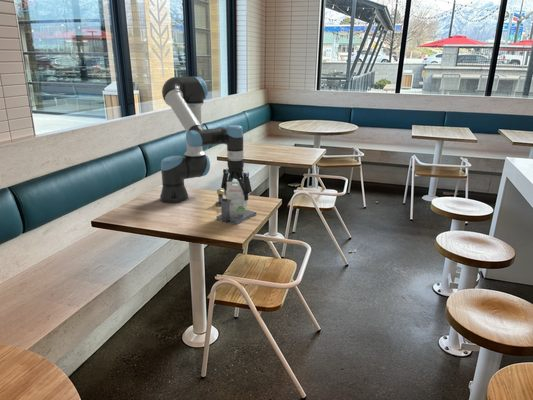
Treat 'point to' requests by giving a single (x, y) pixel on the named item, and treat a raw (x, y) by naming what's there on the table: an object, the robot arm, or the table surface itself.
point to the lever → (220, 192)
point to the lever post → (218, 200)
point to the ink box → (235, 196)
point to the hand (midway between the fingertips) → (236, 204)
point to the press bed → (233, 213)
